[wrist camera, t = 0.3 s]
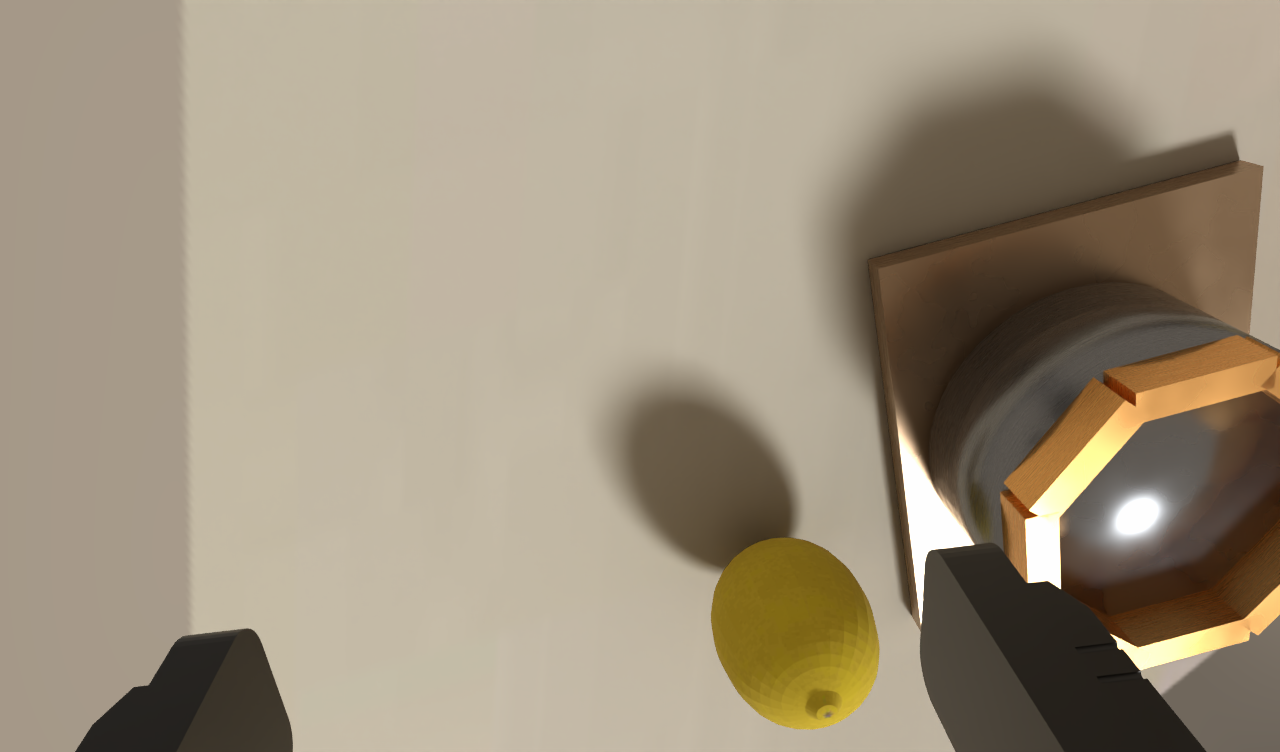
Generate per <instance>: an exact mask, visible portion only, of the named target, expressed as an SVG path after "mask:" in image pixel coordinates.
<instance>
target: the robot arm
mask: <svg viewBox="0 0 1280 752" xmlns="http://www.w3.org/2000/svg"><path fill="white" fill-rule="evenodd" d="M920 658H921V666H922V672H923V677H924V681H925V685H926V688H927V692H928V694H929V697H930V700H931V702H932V704H933V706H934V709H935V711H936V713H937V715H938V717H939V719H940V721H941V723H942V725H943V727H944V729H945V731H946V733H947V735H948V737H949V739H950V741H951V743H952V745H953V747H954V749H955V751H956V752H1206V751H1205V750H1204V748H1203V747H1202V746H1201V744H1200V743H1199V742H1198V741H1197V740H1196V738H1195V737H1194V736H1193V735H1192V733H1191V732H1190V731H1189V730H1188V728H1187V727H1186V726H1185V725H1184V723H1183V722H1182V721H1181V720H1180V719H1179V717H1178V716H1177V715H1176V714H1175V713H1174V711H1173V710H1172V709H1171V708H1170V706H1169V705H1168V704H1167V703H1166V701H1165V700H1164V699H1163V698H1162V696H1161V695H1160V694H1159V693H1158V691H1157V690H1156V689H1155V688H1154V687H1153V685H1152V684H1151V683H1150V682H1149V680H1148V679H1143V678H1142V676H1141V671H1140V669H1139V668H1138V667H1137V666H1136V664H1135V663H1134V662H1133V661H1132V660H1131V658H1130V657H1129V656H1128V655H1127V653H1126V652H1125V651H1124V650H1123V649H1119V648H1118V645H1117V641H1116V640H1115V639H1114V637H1113V636H1112V635H1111V634H1110V632H1109V631H1108V630H1107V629H1106V628H1105V626H1104V625H1103V624H1102V623H1101V621H1100V620H1099V619H1098V618H1097V616H1096V615H1095V614H1094V613H1093V612H1092V610H1091V609H1090V608H1089V607H1088V606H1086V605H1085V604H1083V603H1082V602H1080V601H1078V600H1077V599H1075V598H1074V597H1072V596H1071V595H1069V594H1068V593H1066V592H1065V591H1063V590H1062V589H1060V588H1059V587H1057V586H1056V585H1054V584H1053V583H1051V582H1050V581H1048V580H1047V581H1039V582H1031V583H1026V581H1025V580H1024V579H1023V577H1022V576H1021V575H1020V573H1019V572H1018V571H1017V569H1016V568H1015V567H1014V565H1013V564H1012V563H1011V561H1010V560H1009V559H1008V557H1007V556H1006V554H1005V553H1004V552H1003V551H1002V549H1001V548H1000V547H999V546H998V545H996V544H994V543H983V544H975V545H966V546H958V547H949V548H941V549H932V550H930V551H929V552H928V553H927V555H926V559H925V565H924V583H923V601H922V620H921V638H920ZM75 752H293V741H292V731H291V726H290V722H289V719H288V716H287V713H286V710H285V707H284V705H283V702H282V699H281V696H280V693H279V691H278V688H277V685H276V682H275V679H274V677H273V674H272V671H271V668H270V665H269V663H268V660H267V657H266V654H265V651H264V649H263V646H262V643H261V641H260V638H259V637H258V635H257V634H256V633H255V632H254V631H253V630H251V629H239V630H230V631H222V632H213V633H205V634H196V635H188V636H183V637H181V638H180V639H178V640H177V641H176V642H175V644H174V645H173V646H172V648H171V649H170V651H169V653H168V655H167V656H166V658H165V660H164V661H163V663H162V664H161V666H160V668H159V669H158V671H157V673H156V674H155V676H154V678H153V679H152V681H151V683H150V684H149V685H148V686H140V687H134V688H132V689H131V690H130V691H129V692H128V693H127V694H126V695H125V696H124V697H123V698H122V699H120V700H119V701H118V702H117V703H116V704H115V705H114V706H113V707H112V708H111V709H109V710H108V711H107V712H106V713H105V714H104V715H103V716H102V717H101V718H100V719H99V720H97V721H96V722H95V723H94V724H93V725H92V727H91V728H90V730H89V731H88V733H87V734H86V736H85V737H84V739H83V741H82V742H81V744H80V745H79V747H78V748H77V750H76V751H75Z"/></svg>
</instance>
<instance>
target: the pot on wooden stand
mask: <svg viewBox="0 0 1280 752" xmlns="http://www.w3.org/2000/svg"><path fill="white" fill-rule="evenodd" d="M1262 177H1263V166H1260V165H1256V164H1253V163H1249V162H1245V161H1241V160H1240V161H1236V162H1233V163H1229V164H1225V165H1221V166H1218V167H1214V168H1210V169H1206V170H1203V171H1199V172H1195V173H1191V174H1188V175H1184V176H1180V177H1176V178H1172V179H1169V180H1165V181H1161V182H1157V183H1154V184H1150V185H1146V186H1142V187H1139V188H1135V189H1131V190H1127V191H1124V192H1120V193H1116V194H1112V195H1109V196H1105V197H1101V198H1097V199H1094V200H1090V201H1086V202H1082V203H1079V204H1075V205H1071V206H1067V207H1064V208H1060V209H1056V210H1052V211H1049V212H1045V213H1041V214H1037V215H1034V216H1030V217H1026V218H1022V219H1019V220H1015V221H1011V222H1007V223H1004V224H1000V225H996V226H992V227H989V228H985V229H981V230H977V231H974V232H970V233H966V234H962V235H959V236H955V237H951V238H947V239H944V240H940V241H936V242H932V243H929V244H925V245H921V246H917V247H914V248H910V249H906V250H902V251H899V252H895V253H891V254H887V255H884V256H880V257H876V258H872V259H869V260H868V266H869V274H870V282H871V290H872V298H873V306H874V314H875V322H876V330H877V338H878V346H879V354H880V362H881V370H882V378H883V386H884V394H885V402H886V410H887V418H888V426H889V434H890V442H891V450H892V458H893V466H894V474H895V482H896V490H897V498H898V506H899V514H900V522H901V530H902V538H903V546H904V554H905V562H906V570H907V578H908V586H909V594H910V602H911V610H912V617H913V619H914V621H915V622H916V624H917V626H918V627H919V629H920V631H921V620H922V601H923V583H924V565H925V559H926V555H927V553H928V552H929V551H930V550H932V549H941V548H949V547H958V546H966V545H975V544H983V543H994V544H996V545H998V546H999V547H1000V548H1001V549H1002V551H1003V552H1004V553H1005V554H1006V556H1007V557H1008V559H1009V560H1010V561H1011V563H1012V564H1013V565H1014V567H1015V568H1016V569H1017V571H1018V572H1019V573H1020V575H1021V576H1022V577H1023V579H1024V580H1025V581H1026V583H1031V582H1039V581H1047V580H1048V581H1050V582H1051V583H1053V584H1054V585H1056V586H1057V587H1059V588H1060V589H1062V590H1063V591H1065V592H1066V593H1068V594H1069V595H1071V596H1072V597H1074V598H1075V599H1077V600H1078V601H1080V602H1082V603H1083V604H1085V605H1086V606H1088V607H1089V608H1090V609H1091V610H1092V612H1093V613H1094V614H1095V615H1096V616H1097V618H1098V619H1099V620H1100V621H1101V623H1102V624H1103V625H1104V626H1105V628H1106V629H1107V630H1108V631H1109V632H1110V634H1111V635H1112V636H1113V637H1114V639H1115V640H1116V641H1117V645H1118V648H1119V649H1123V650H1124V651H1125V652H1126V653H1127V655H1128V656H1129V657H1130V658H1131V660H1132V661H1133V662H1134V663H1135V664H1136V666H1137V667H1138V668H1139V669H1140V670H1141V669H1144V668H1148V667H1152V666H1156V665H1159V664H1163V663H1167V662H1170V661H1174V660H1178V659H1182V658H1185V657H1189V656H1193V655H1196V654H1200V653H1204V652H1208V651H1211V650H1215V649H1219V648H1222V647H1226V646H1230V645H1233V644H1237V643H1240V642H1244V641H1248V640H1249V634H1250V631H1251V632H1253V633H1255V634H1257V635H1259V634H1260V633H1261V632H1262V630H1264V629H1265V628H1266V627H1267V626H1268V625H1269V624H1270V623H1271V622H1272V621H1273V620H1274V619H1275V618H1276V617H1277V616H1279V615H1280V350H1278V349H1276V348H1274V347H1272V346H1270V345H1269V344H1267V343H1265V342H1263V341H1261V340H1259V339H1257V338H1255V337H1253V336H1251V335H1249V332H1250V320H1251V308H1252V296H1253V284H1254V272H1255V260H1256V248H1257V237H1258V225H1259V213H1260V201H1261V189H1262Z"/></svg>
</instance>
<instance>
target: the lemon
mask: <svg viewBox="0 0 1280 752" xmlns="http://www.w3.org/2000/svg"><path fill="white" fill-rule="evenodd" d="M711 623H712V630H713V636H714V642H715V647H716V651H717V654H718V657H719V659H720V661H721V663H722V666H723V667H724V669H725V671H726V673H727V675H728V677H729V679H730V680H731V682H732V684H733V686H734V687H735V689H736V690H737V692H738V693H739V694H740V695H741V697H742V698H743V699H744V700H745V701H746V702H747V703H748V704H749V705H750V706H751V707H752V708H753V709H754V710H755V711H756V712H758V713H759V714H760V715H761V716H763V717H765V718H766V719H768V720H770V721H772V722H774V723H776V724H778V725H782V726H785V727H790V728H794V729H818V728H824V727H827V726H830V725H833V724H836V723H838V722H839V721H841V720H843V719H845V718H846V717H848V716H849V715H850V714H851V713H852V712H854V711H855V710H856V709H857V708H858V707H859V706H860V705H861V704H862V702H863V701H864V700H865V698H866V697H867V696H868V694H869V692H870V691H871V688H872V686H873V683H874V681H875V679H876V675H877V671H878V662H879V640H878V634H877V630H876V625H875V621H874V617H873V613H872V610H871V607H870V604H869V601H868V599H867V597H866V595H865V593H864V592H863V590H862V588H861V587H860V585H859V584H858V582H857V580H856V579H855V577H854V576H853V574H852V573H851V572H850V570H849V569H848V568H847V567H846V566H845V565H844V564H843V563H842V562H841V561H839V560H838V559H837V558H836V557H835V556H834V555H832V554H831V553H830V552H829V551H828V550H826V549H824V548H822V547H820V546H818V545H816V544H813V543H811V542H809V541H805V540H801V539H795V538H771V539H768V540H764V541H760V542H758V543H755V544H753V545H751V546H749V547H747V548H746V549H745V550H743V551H742V552H741V553H739V554H738V555H737V556H736V557H734V558H733V559H732V561H731V562H730V563H729V564H728V566H727V567H726V568H725V569H724V571H723V573H722V575H721V577H720V579H719V581H718V583H717V585H716V588H715V591H714V597H713V603H712V610H711Z"/></svg>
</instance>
